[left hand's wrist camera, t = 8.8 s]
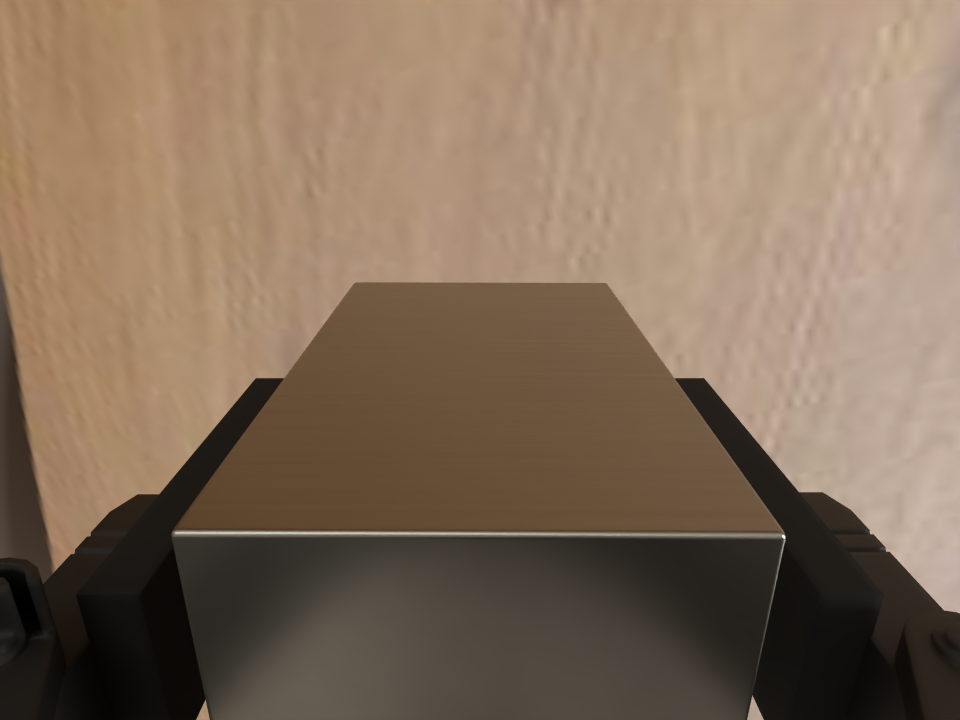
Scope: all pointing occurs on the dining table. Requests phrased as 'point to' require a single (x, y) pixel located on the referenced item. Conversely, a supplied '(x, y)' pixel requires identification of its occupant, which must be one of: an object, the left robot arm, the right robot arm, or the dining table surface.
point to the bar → (478, 524)
